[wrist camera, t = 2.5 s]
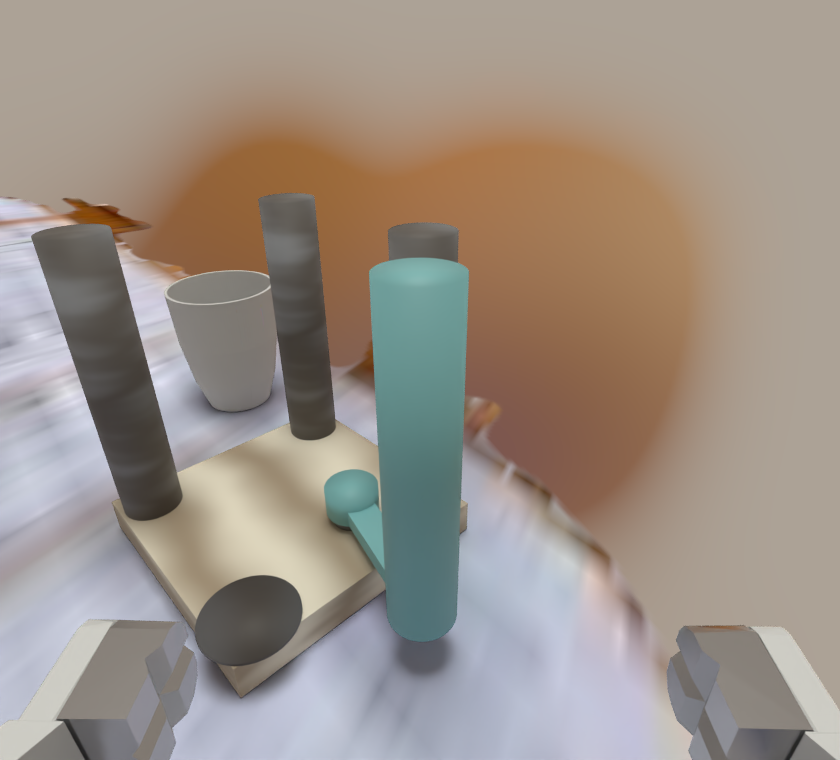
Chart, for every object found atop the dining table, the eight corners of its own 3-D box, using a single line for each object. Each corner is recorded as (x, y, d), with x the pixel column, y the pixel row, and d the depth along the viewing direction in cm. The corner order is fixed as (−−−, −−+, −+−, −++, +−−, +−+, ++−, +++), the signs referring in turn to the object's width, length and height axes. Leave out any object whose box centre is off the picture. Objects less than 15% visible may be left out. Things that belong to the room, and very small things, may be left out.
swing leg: (317, 501, 32) (282, 220, 24) (367, 484, 33) (349, 212, 26) (407, 654, 24) (397, 295, 16) (470, 622, 25) (488, 277, 17)
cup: (280, 368, 53) (265, 265, 48) (296, 410, 46) (280, 295, 41) (189, 384, 50) (164, 277, 45) (192, 430, 44) (163, 310, 39)
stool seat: (234, 717, 24) (126, 331, 15) (110, 532, 34) (1, 234, 25) (473, 533, 33) (489, 232, 25) (322, 431, 43) (295, 190, 35)
